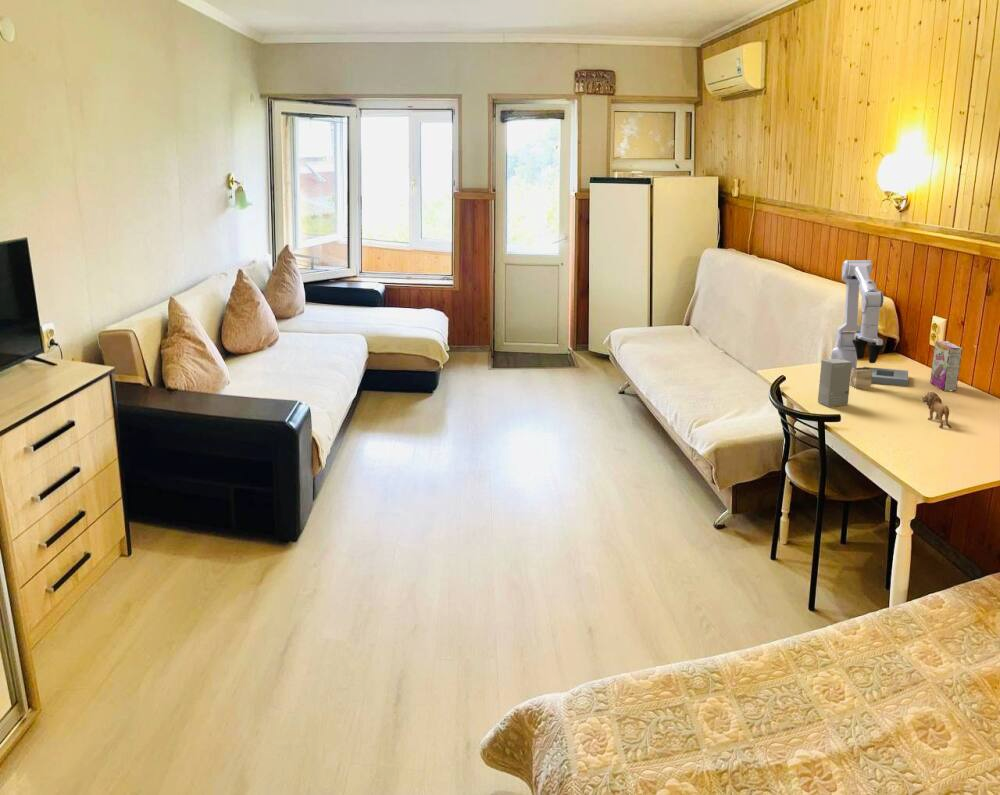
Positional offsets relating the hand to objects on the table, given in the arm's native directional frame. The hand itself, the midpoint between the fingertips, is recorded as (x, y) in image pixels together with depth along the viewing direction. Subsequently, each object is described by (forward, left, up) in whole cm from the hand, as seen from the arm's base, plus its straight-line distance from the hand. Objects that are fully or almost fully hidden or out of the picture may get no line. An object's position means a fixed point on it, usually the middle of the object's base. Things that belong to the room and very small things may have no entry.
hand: (866, 360), depth 309 cm
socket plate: (-1, +16, -10) cm, 19 cm away
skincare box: (+5, -26, -11) cm, 29 cm away
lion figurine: (+37, -17, -11) cm, 42 cm away
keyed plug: (-1, 0, -10) cm, 10 cm away
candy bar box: (+18, +23, -11) cm, 31 cm away
